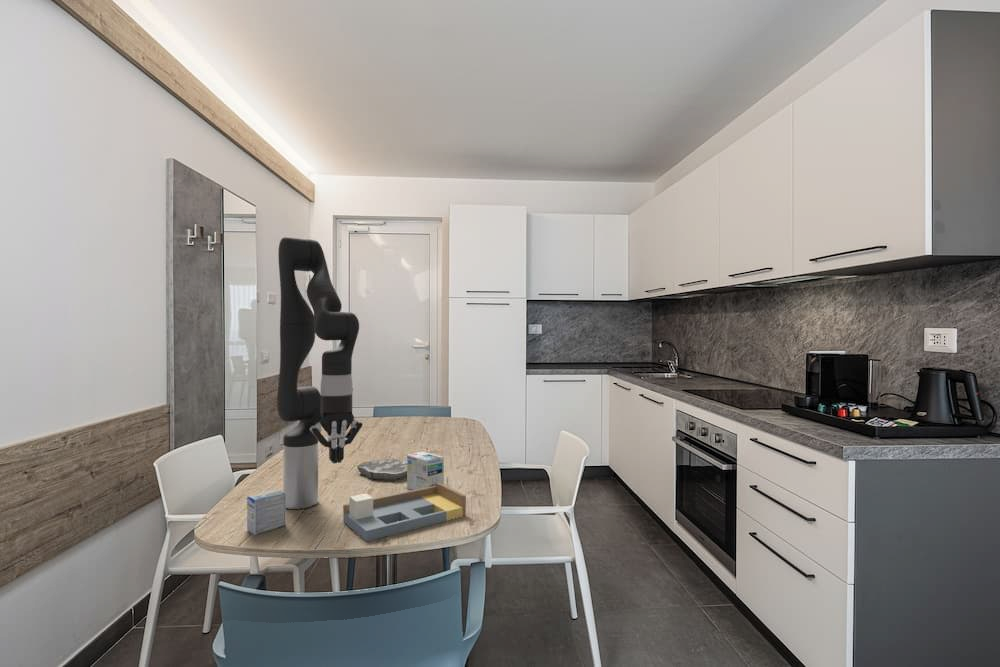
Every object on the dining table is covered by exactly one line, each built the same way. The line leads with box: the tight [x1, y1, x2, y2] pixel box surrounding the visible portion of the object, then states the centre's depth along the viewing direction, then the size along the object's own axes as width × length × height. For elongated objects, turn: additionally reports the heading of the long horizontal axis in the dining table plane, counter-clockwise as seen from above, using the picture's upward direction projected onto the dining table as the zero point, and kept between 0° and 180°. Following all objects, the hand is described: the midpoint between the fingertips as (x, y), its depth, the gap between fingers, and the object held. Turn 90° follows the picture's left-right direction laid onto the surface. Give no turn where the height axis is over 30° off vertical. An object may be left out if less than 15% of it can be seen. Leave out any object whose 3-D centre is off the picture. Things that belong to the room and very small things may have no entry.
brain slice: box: [356, 458, 407, 481], centre depth 177 cm, size 20×17×3 cm
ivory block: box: [348, 493, 374, 519], centre depth 131 cm, size 4×4×4 cm
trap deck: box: [342, 482, 467, 542], centre depth 136 cm, size 15×28×6 cm, turn 127°
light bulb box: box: [406, 451, 445, 491], centre depth 160 cm, size 11×7×11 cm, turn 47°
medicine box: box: [246, 488, 287, 536], centre depth 129 cm, size 8×4×9 cm, turn 141°
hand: (336, 462), depth 127 cm, fingers closed
